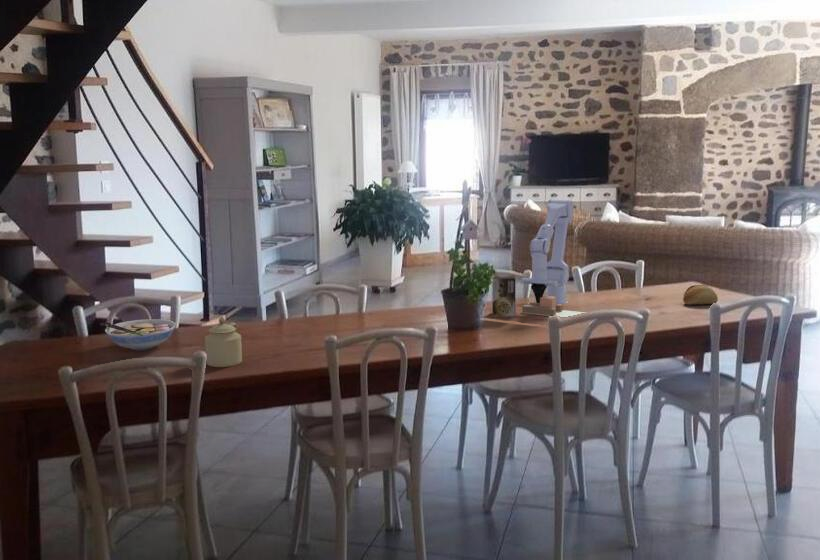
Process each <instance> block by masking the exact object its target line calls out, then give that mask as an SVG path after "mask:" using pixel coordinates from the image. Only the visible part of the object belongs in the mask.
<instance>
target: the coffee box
mask: <svg viewBox="0 0 820 560" xmlns="http://www.w3.org/2000/svg"><path fill="white" fill-rule="evenodd" d="M493 275H494V274H493ZM516 280H517V279H516V276H515V275H514V274H513V275H510V274H506V275H505V274H504V275H503V274H502V275H501V274H498V275H496V274H495V275H494V278H493V283H492V282H491V283H492V284H491V290H492V291H491V293H492V294H491V297H492V298H491V299H492V300H491V304H492V305H491V307H492V310H491V312H492V313H491V314H492V317H516V310H517V309H516V305H517V304H516Z"/></svg>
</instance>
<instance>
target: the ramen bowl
mask: <svg viewBox="0 0 820 560" xmlns="http://www.w3.org/2000/svg"><path fill="white" fill-rule="evenodd" d="M99 325H100V326H102V327H106V328H105V330H104V331H105V333H106V336H108V338H109V339H110V340H111V341H112V342H114V343H115V344H116V345H118V346H120V347H122V348H126V349H130V350H133V351H146V350H151V349H153V348H155V347H156V346H158V345H160V344H162V343H163V342H166V341H167V340H168V339H169V338H170V337H171V335H172V333H174V330H175V327H176V322H174V321H173V320H169V319H164V318H163V319H160V318H159V319H157V318H156V319H155V318H150V319H148V318H146V319H135V320H128V321H121V322H118V323H115V324H114V323H110V322H108V321H106V322H105V323H104V322H100V323H99Z"/></svg>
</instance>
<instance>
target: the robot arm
mask: <svg viewBox="0 0 820 560" xmlns="http://www.w3.org/2000/svg"><path fill="white" fill-rule="evenodd" d="M574 209H575V208H574V202H573V201H572V199H553V198H549V199H548V200H547V202H546V211H547V212H546V213H547V216H546V218H545V222H544V223H543V224H542V225H540V228H539V229H538V231H537V234H536V235H535V238H533V239H532V240H531V241H530V244H529V249H530V256H531V259H532V260H531V264H532V265H531V278H530V277H529V278H528V277H527V278H526V277H522V278H521V279H520V281H521V282H520V283H521V284H523V285H524V284H528V285H531V287H530V288H531V290H532V292H533V294H534V298H535V302H536V303H540V297H542V296H544V293H545V291H546V296H554V297H556V304H563V305H564V304H569V301H567V287H566V284H567V283H568V282H569V280H570V273H569V270H570V267H569V266H568V264H567V263H566V262H565V261H564V256H565V248H566V240H567V233H568V226H569V222H571V221H572V220H573V216H574ZM554 226H555V227H554ZM554 228H555V229H554ZM553 236H554V237H553ZM552 238H553V245H552V251H551V259H550V260H549V261H548V253H549V251H550V248H551V243H552V242H551V240H552Z"/></svg>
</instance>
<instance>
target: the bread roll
mask: <svg viewBox="0 0 820 560" xmlns="http://www.w3.org/2000/svg"><path fill="white" fill-rule="evenodd" d="M682 300H683V303H684V304H685V305H689V306H690V305H692V306H693V305H713V304H712V303H715V304H716V303H717V302H718V300H719V299H718V295H717V293H716V291H715V289H713V288H711V287H709V286H708V285H704V284H703V285H702V284H697V285H696V284H695V285H691V286H689V287H688V288H686V290H685V292H684V293H683V298H682Z"/></svg>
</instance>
